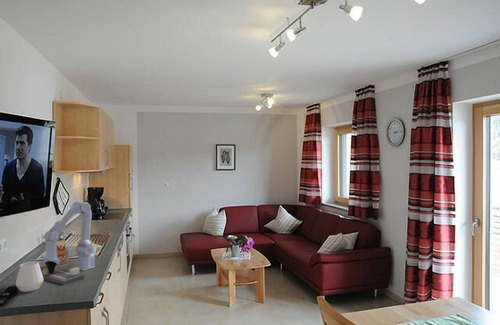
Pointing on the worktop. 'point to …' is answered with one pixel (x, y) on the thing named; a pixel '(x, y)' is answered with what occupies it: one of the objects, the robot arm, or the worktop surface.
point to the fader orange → (45, 271)
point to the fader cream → (74, 271)
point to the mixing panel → (62, 276)
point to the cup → (29, 277)
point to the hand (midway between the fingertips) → (51, 273)
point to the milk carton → (61, 252)
